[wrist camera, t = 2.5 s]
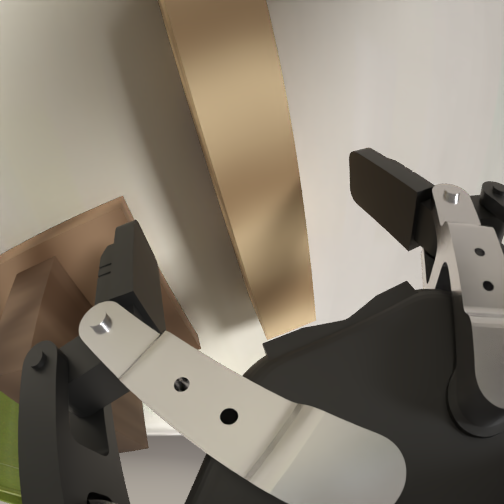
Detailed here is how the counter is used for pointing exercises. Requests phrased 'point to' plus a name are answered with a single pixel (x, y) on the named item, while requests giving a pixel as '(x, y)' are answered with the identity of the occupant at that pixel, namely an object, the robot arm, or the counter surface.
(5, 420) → the plant pot
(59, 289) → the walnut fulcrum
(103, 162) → the counter surface
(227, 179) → the light tan wooden bar
